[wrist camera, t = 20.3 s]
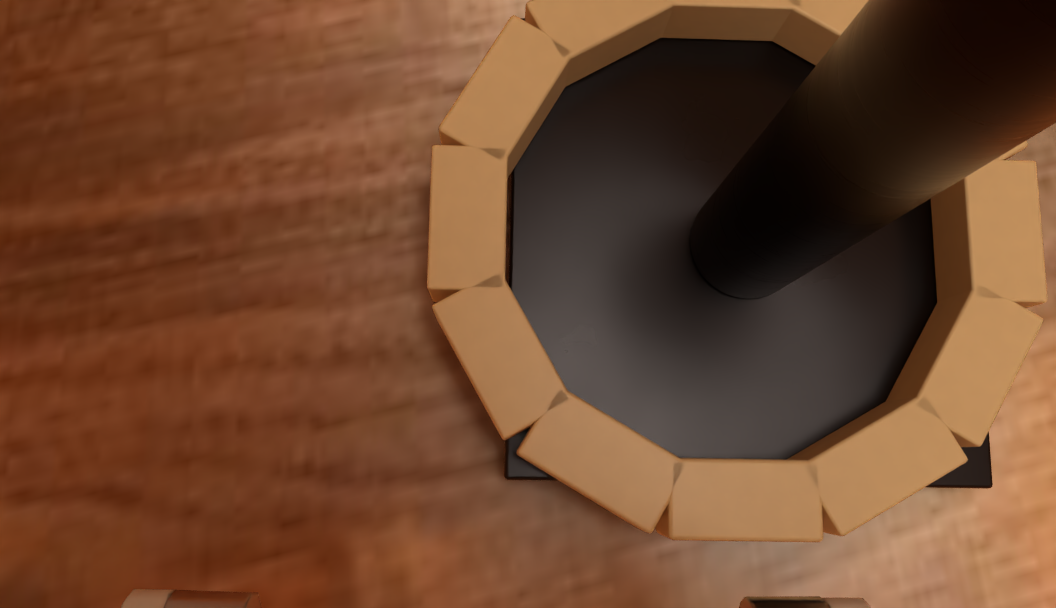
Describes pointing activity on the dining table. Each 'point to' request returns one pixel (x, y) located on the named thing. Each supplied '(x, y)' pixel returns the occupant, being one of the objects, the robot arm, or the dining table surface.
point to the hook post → (764, 220)
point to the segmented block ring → (628, 457)
